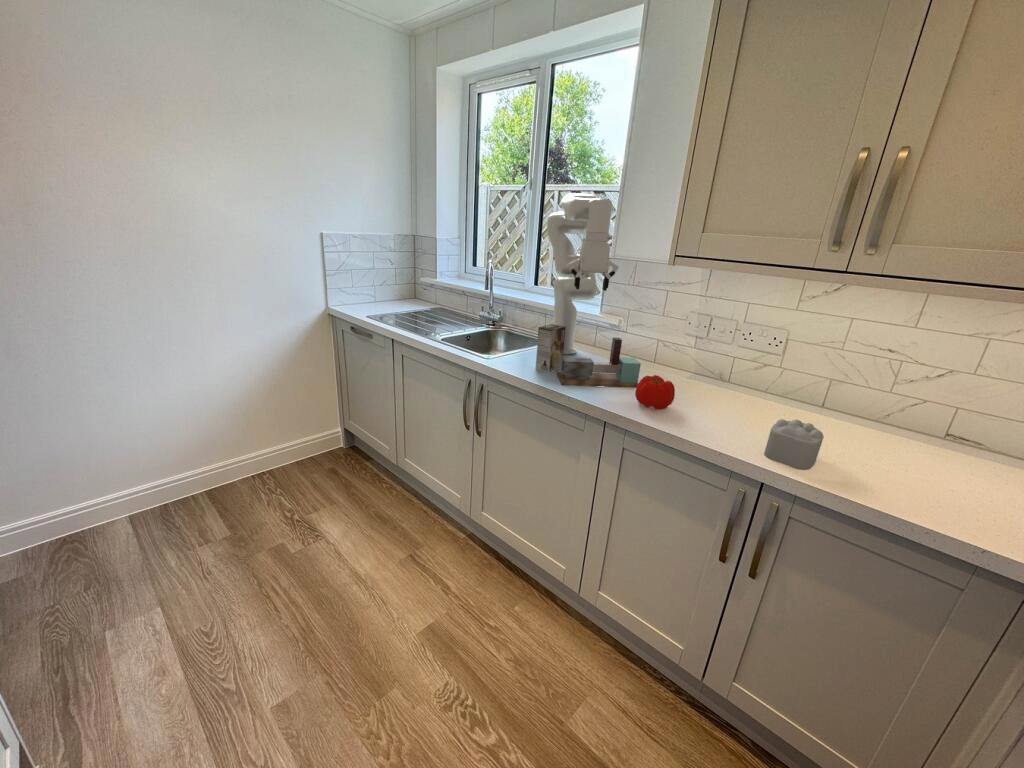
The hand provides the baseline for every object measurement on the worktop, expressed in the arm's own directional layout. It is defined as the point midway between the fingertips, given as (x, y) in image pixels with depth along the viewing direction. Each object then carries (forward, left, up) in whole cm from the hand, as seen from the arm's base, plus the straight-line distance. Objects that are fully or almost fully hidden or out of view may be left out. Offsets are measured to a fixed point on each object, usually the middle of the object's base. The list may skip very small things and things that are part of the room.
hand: (590, 289), depth 156 cm
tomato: (+32, +16, -31) cm, 47 cm away
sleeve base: (+10, +3, -30) cm, 32 cm away
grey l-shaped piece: (+10, +7, -27) cm, 29 cm away
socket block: (+10, +14, -30) cm, 35 cm away
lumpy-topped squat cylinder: (+62, +40, -31) cm, 80 cm away
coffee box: (-2, -12, -31) cm, 33 cm away
